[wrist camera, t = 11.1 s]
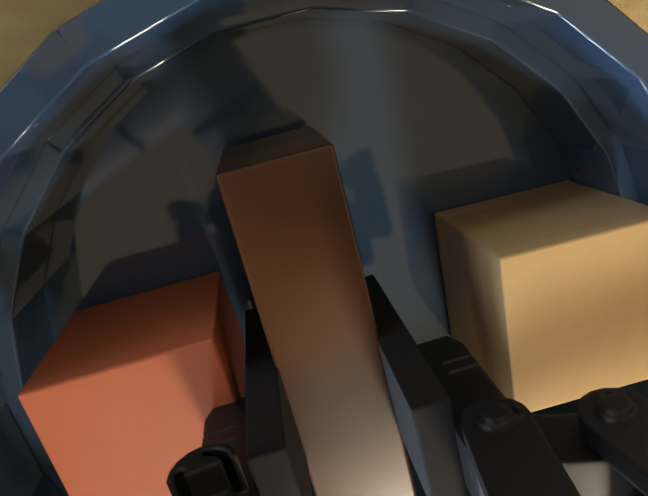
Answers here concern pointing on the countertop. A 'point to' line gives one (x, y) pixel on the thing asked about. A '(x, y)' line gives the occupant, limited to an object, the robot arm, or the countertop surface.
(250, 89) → the bowl
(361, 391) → the stick
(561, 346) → the block beech
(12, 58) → the countertop surface
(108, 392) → the block terracotta
